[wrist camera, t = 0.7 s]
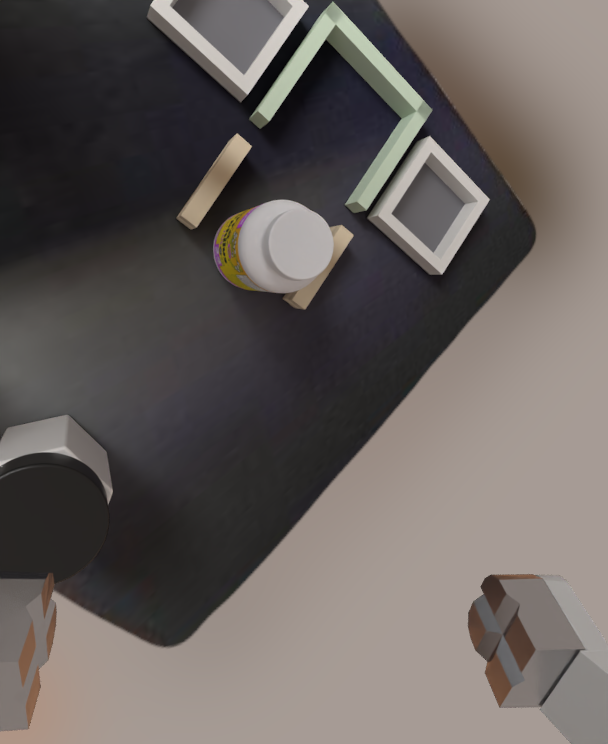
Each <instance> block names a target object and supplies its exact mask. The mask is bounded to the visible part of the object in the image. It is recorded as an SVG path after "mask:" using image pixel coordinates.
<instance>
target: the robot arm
mask: <svg viewBox="0 0 608 744" xmlns="http://www.w3.org/2000/svg"><path fill="white" fill-rule="evenodd" d="M53 589H54V579H53V573H39V572H8V571H0V731H12V730H24V729H29V726H30V723H31V719H32V715H33V712H34V709H35V705H36V702H37V698H38V695H39V691H40V688H41V685H40V676H39V669H40V668H41V667H42V666H43V665H44V664H45V663H46V662H47V661H48V659H49V655H50V652H51V648H52V644H53V638H54V632H55V627H56V613H57V612H56V603H55V602H54V601H53V600H52V599H51V596H52V592H53ZM481 589H482V591H483V593H484V594H483V595H482V596H480V597H479V598H477V599H476V600H475V601H474V602H473V603H472V606H471V608H470V610H469V613H468V628H469V633H470V637H471V640H472V643H473V645H474V648H475V650H476V651H477V652H478V653H479V654H480V655H481V656H482V657H483V658H484V659H485V660H487V666H486V670H485V674H486V677H487V679H488V681H489V684H490V686H491V688H492V691H493V693H494V696H495V698H496V700H497V703H498V705H499V707H500V708H512V707H513V708H516V707H541V708H540V710H541V712H542V713H543V714H545V716H546V717H547V718H548V719H549V720H550V721H551V722H552V723H553V724H554V725H555V727H556V728H557V729H558V730H559V731H560V732H561V733H562V734H563V735H564V736H565V737H566V739H567V740H568V741H569V742H570V743H571V744H608V644H607V642H606V641H605V639H604V638H603V636H602V634H601V633H600V631H599V630H598V628H597V627H596V625H595V624H594V622H593V621H592V619H591V618H590V616H589V615H588V613H587V611H586V610H585V608H584V607H583V605H582V604H581V602H580V600H579V599H578V598H577V596H576V594H575V593H574V591H573V590H572V588H571V587H570V585H569V583H568V582H567V581H566V580H565V579H564V578H563V577H562V576H560V575H533V574H520V575H519V574H517V575H490V576H488V577H486V578H485V579H484V581H483V583H482V585H481Z"/></svg>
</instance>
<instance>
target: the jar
mask: <svg viewBox="0 0 608 744" xmlns="http://www.w3.org/2000/svg"><path fill="white" fill-rule="evenodd" d="M112 494H113V488H112V482H111V475H110V469H109V463H108V456H107V452H106V451H105V450H104V449H103V448H102V447H101V446H100V445H99V444H98V443H97V442H96V441H95V440H94V439H93V438H92V437H91V436H90V435H89V434H88V433H87V432H86V431H85V430H84V429H83V428H82V427H80V426H79V425H78V424H77V423H76V422H75V421H74V420H73V419H72V418H71V417H70V416H69V415H63V416H59V417H54V418H49V419H45V420H40V421H36V422H31V423H26V424H22V425H17V426H13V427H8V428H7V429H6V430H5V432H4V434H3V436H2V438H1V440H0V571H8V572H39V573H53V579H54V584H56V583H59V582H62V581H64V580H66V579H68V578H70V577H72V576H74V575H75V574H77V573H78V572H80V571H81V570H82V569H84V568H85V567H86V566H87V565H88V564H89V563H90V562H91V561H92V560H93V559H94V558H95V557H96V555H97V554H98V552H99V551H100V549H101V548H102V546H103V544H104V542H105V539H106V536H107V533H108V528H109V508H108V505H109V502H110V499H111V496H112Z"/></svg>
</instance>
